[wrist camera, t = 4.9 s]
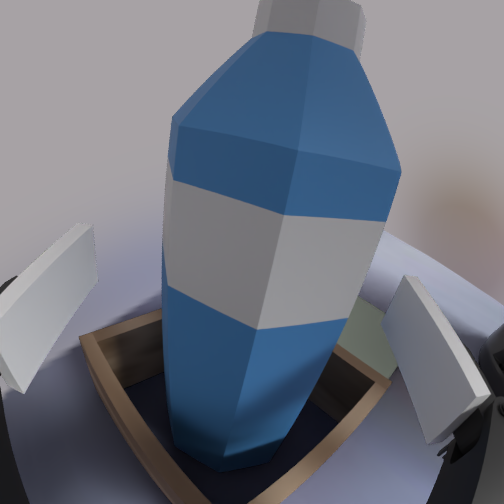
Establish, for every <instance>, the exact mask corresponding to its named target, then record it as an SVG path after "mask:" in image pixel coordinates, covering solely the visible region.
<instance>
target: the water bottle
mask: <svg viewBox="0 0 504 504" xmlns="http://www.w3.org/2000/svg"><path fill="white" fill-rule="evenodd" d="M365 26H366V19H365V16H364V13H363V10H362V7H361V5H359V4H357V3H355V2H353V1H351V0H260V1H259V6H258V10H257V15H256V20H255V25H254V30H253V35H252V38H251V39H250V40H249V41H248V42H247V43H246V44H245V45H243V46H242V47H241V48H240V49H239V50H238V51H237V52H236V53H235V54H233V55H232V56H231V57H230V58H229V59H228V60H227V61H226V62H225V63H224V64H223V65H222V66H221V67H220V68H218V70H216V71H215V72H214V73H213V74H212V75H211V76H210V77H209V78H208V79H207V80H206V81H205V82H204V83H203V84H202V85H201V86H200V87H199V88H198V90H197V91H196V92H195V93H194V94H193V95H192V96H191V97H190V98H189V99H188V100H187V101H186V102H185V103H184V105H182V107H181V108H180V109H179V110H178V111H177V112H176V113H175V114H174V115H173V117H172V123H171V132H170V140H169V150H168V160H167V171H166V184H165V199H164V216H163V239H162V240H163V241H162V333H163V356H164V373H165V387H166V399H167V408H168V414H169V420H170V425H171V430H172V435H173V440H174V445H175V447H177V448H178V449H180V450H182V451H183V452H185V453H186V454H188V455H190V456H191V457H193V458H195V459H196V460H198V461H200V462H201V463H203V464H205V465H207V466H208V467H210V468H212V469H214V470H215V471H217V472H225V471H231V470H236V469H241V468H246V467H251V466H255V465H260V464H264V463H268V462H270V460H271V459H272V457H273V455H274V454H275V452H276V451H277V449H278V448H279V446H280V445H281V443H282V441H283V440H284V438H285V437H286V435H287V433H288V432H289V430H290V428H291V427H292V425H293V423H294V422H295V420H296V418H297V417H298V415H299V413H300V411H301V410H302V408H303V406H304V404H305V403H306V401H307V399H308V397H309V395H310V394H311V392H312V390H313V388H314V386H315V384H316V383H317V381H318V379H319V377H320V375H321V373H322V371H323V369H324V367H325V365H326V363H327V361H328V359H329V357H330V355H331V353H332V351H333V349H334V347H335V345H336V343H337V341H338V339H339V337H340V335H341V333H342V330H343V328H344V326H345V324H346V322H347V320H348V317H349V315H350V313H351V311H352V308H353V306H354V304H355V301H356V299H357V297H358V294H359V292H360V290H361V287H362V285H363V282H364V280H365V277H366V275H367V272H368V270H369V267H370V265H371V262H372V259H373V257H374V254H375V252H376V249H377V246H378V243H379V241H380V238H381V235H382V232H383V229H384V226H385V223H386V221H387V217H388V215H389V212H390V208H391V205H392V202H393V199H394V196H395V193H396V189H397V186H398V183H399V179H400V176H401V167H400V162H399V159H398V156H397V153H396V150H395V147H394V144H393V141H392V138H391V135H390V133H389V130H388V127H387V125H386V122H385V119H384V117H383V114H382V112H381V109H380V107H379V104H378V102H377V99H376V97H375V95H374V92H373V90H372V88H371V85H370V83H369V81H368V79H367V77H366V74H365V72H364V70H363V68H362V66H361V64H360V56H361V50H362V44H363V38H364V32H365Z"/></svg>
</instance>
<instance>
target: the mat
mask: <svg viewBox="0 0 504 504" xmlns="http://www.w3.org/2000/svg"><path fill="white" fill-rule="evenodd" d="M385 314H386V313H384V312H383V311H381V310H379V309H378V308H376V307H375V306H373V305H371V304H370V303H368V302H367V301H365V300H363V299H362V298H360V297H359V296H358V297H357V299H356V301H355V304H354V306H353V308H352V311H351V313H350V315H349V317H348V320H347V322H346V324H345V326H344V328H343V330H342V333H341V335H340V337H339V339H338V341H337V344H339V345H340V346H341V347H343V348H344V349H346V350H347V351H349V352H350V353H351V354H353V355H354V356H356V357H357V358H358V359H360V360H361V361H363V362H364V363H366V364H367V365H368V366H370V367H371V368H373V369H374V370H376V371H377V372H379V373H380V374H381V375H383V376H384V377H386V378H387V379H389V377H390V376H391V375H392V373H393V372H394V371H395V369H396V368H397V366H398V364H397V361H396V359H395V357H394V354H393V352H392V349H391V347H390V345H389V342H388V340H387V338H386V335H385V333H384V331H383V328H382V326H381V324H380V323H381V322H382V320H383V318H384V316H385Z"/></svg>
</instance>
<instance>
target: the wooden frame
mask: <svg viewBox="0 0 504 504" xmlns="http://www.w3.org/2000/svg"><path fill="white" fill-rule="evenodd" d="M79 340H80V343H81V346H82V350H83V353H84V356H85V359H86V362H87V365H88V368H89V371H90V374H91V377H92V380H93V383H94V385H95V388H96V390H97V392H98V394H99V396H100V398H101V400H102V401H103V403H104V405H105V407H106V409H107V410H108V412H109V414H110V416H111V417H112V419H113V421H114V422H115V424H116V426H117V427H118V429H119V431H120V432H121V434H122V436H123V437H124V439H125V440H126V442H127V443H128V445H129V446H130V448H131V449H132V451H133V452H134V454H135V455H136V457H137V458H138V460H139V461H140V463H141V464H142V465H143V467H144V468H145V470H146V471H147V472H148V474H149V475H150V476H151V478H152V479H153V480H154V482H155V483H156V484H157V485H158V487H159V488H160V489H161V490H162V492H163V493H164V494H165V495H166V497H167V498H168V499H169V500H170V501H171V503H172V504H212V503H211V502H210V501H209V500H208V499H207V498H206V497H205V496H204V495H203V494H202V493H201V492H200V491H199V489H198V488H197V487H196V486H195V485H194V484H193V483H192V482H191V481H190V479H189V478H188V477H187V476H186V475H185V474H184V472H183V471H182V470H181V469H180V468H179V466H178V465H177V464H176V463H175V462H174V460H173V459H172V458H171V457H170V455H169V454H168V453H167V451H166V450H165V449H164V448H163V446H162V445H161V444H160V442H159V441H158V440H157V438H156V437H155V436H154V434H153V433H152V431H151V430H150V429H149V427H148V426H147V424H146V423H145V422H144V420H143V419H142V417H141V416H140V414H139V413H138V411H137V410H136V408H135V407H134V405H133V404H132V402H131V401H130V399H129V397H128V396H127V394H126V393H125V391H124V388H126V387H129V386H131V385H134V384H136V383H138V382H141V381H143V380H145V379H148V378H150V377H152V376H155V375H157V374H159V373H162V372H164V356H163V333H162V308H161V309H159V310H156V311H153V312H150V313H147V314H144V315H141V316H138V317H135V318H132V319H130V320H127V321H124V322H121V323H118V324H115V325H112V326H109V327H106V328H103V329H100V330H97V331H94V332H91V333H88V334H85V335H82V336H79ZM391 383H392V381H390V380H389V379H387V378H386V377H384V376H383V375H381V374H380V373H379V372H377V371H376V370H374V369H373V368H371V367H370V366H368V365H367V364H366V363H364V362H363V361H361V360H360V359H358V358H357V357H356V356H354V355H353V354H351V353H350V352H349V351H347V350H346V349H344V348H343V347H341V346H340V345H339V344H337V343H336V345H335V347H334V349H333V351H332V353H331V355H330V357H329V359H328V361H327V363H326V365H325V367H324V369H323V371H322V373H321V375H320V377H319V379H318V381H317V383H316V384H315V386H314V388H313V390H312V392H311V394H310V395H309V397H308V399H309V400H310V401H311V402H313V403H314V404H315V405H316V406H318V407H319V408H320V409H322V410H323V411H324V412H325V413H327V414H328V415H329V416H331V417H332V418H333V419H334V420H336V421H337V422H338V423H339V424H338V425H337V426H336V427H335V428H334V429H333V430H332V431H331V432H330V433H329V434H328V435H327V436H326V437H325V438H324V439H323V440H322V441H321V442H320V443H319V444H318V445H317V446H316V447H315V448H314V449H313V450H312V451H311V452H309V453H308V454H307V455H306V456H305V457H304V458H303V459H302V460H301V461H300V462H298V463H297V464H296V465H295V466H294V467H293V468H292V469H290V470H289V471H288V472H287V473H286V474H285V475H283V476H282V477H281V478H280V479H279V480H277V481H276V482H275V483H274V484H272V485H271V486H270V487H269V488H267V489H266V490H265V491H263V492H262V493H261V494H260V495H258V496H257V497H256V498H254V499H253V500H251V501H250V502H249V503H247V504H280V503H281V502H282V501H283V500H284V499H286V498H287V497H288V496H289V495H290V494H291V493H293V492H294V491H295V490H296V489H297V488H298V487H299V486H300V485H301V484H303V483H304V482H305V481H306V480H307V479H308V478H309V477H310V476H311V475H312V474H313V473H314V472H315V471H316V470H317V469H318V468H319V467H320V466H321V465H322V464H323V463H324V462H325V461H326V460H327V459H328V458H329V457H330V456H331V455H332V454H333V453H334V452H335V451H336V450H337V449H338V448H339V447H340V446H341V445H342V444H343V442H344V441H345V440H346V439H347V438H348V437H349V436H350V435H351V434H352V432H353V431H354V430H355V429H356V428H357V427H358V425H359V424H360V423H361V422H362V421H363V419H364V418H365V417H366V416H367V415H368V413H369V412H370V411H371V410H372V408H373V407H374V406H375V405H376V403H377V402H378V401H379V399H380V398H381V397H382V395H383V394H384V393H385V391H386V390H387V389H388V387H389V386H390V385H391Z"/></svg>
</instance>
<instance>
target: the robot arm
mask: <svg viewBox="0 0 504 504" xmlns="http://www.w3.org/2000/svg"><path fill="white" fill-rule="evenodd" d="M98 281H99V280H98V273H97V264H96V255H95V244H94V231H93V225H90V224H83V223H77V224H76V225H75V226H74V227H72V228H71V229H70V230H69V231H68V232H66V234H64V235H63V236H62V237H61V238H59V239H58V240H57V241H56V242H55V243H54V244H52V245H51V246H50V247H49V248H48V249H47V250H46V251H45V252H44V253H42V254H41V255H40V256H39V257H38V258H37V259H36V260H35V261H34V262H33V263H32V264H30V266H28V267H27V268H26V269H25V270H24V271H23V272H22V273H21V274H20V275H19V276H15V277H13V278H12V279H10V280H8V281H7V282H5V283H4V284H3V285H2V286H1V287H0V376H1V375H2V377H3V378H4V380H5V382H6V383H7V385H8V386H9V387H11V388H13V389H15V390H17V391H19V392H21V393H23V394H25V392H26V390H27V388H28V387H29V385H30V383H31V381H32V380H33V378H34V376H35V375H36V373H37V371H38V369H39V368H40V366H41V365H42V363H43V361H44V360H45V358H46V356H47V355H48V353H49V352H50V350H51V349H52V347H53V345H54V344H55V342H56V341H57V339H58V338H59V336H60V335H61V333H62V332H63V330H64V329H65V327H66V326H67V324H68V323H69V321H70V320H71V318H72V317H73V315H74V314H75V313H76V311H77V310H78V308H79V307H80V306H81V304H82V303H83V301H84V300H85V299H86V297H87V296H88V295H89V293H90V292H91V290H92V289H93V288H94V286H95V285H96V284H97V282H98ZM380 324H381V326H382V328H383V331H384V333H385V335H386V338H387V340H388V342H389V345H390V347H391V349H392V352H393V354H394V357H395V359H396V361H397V364H398V366H399V369H400V371H401V374H402V376H403V379H404V382H405V384H406V387H407V389H408V392H409V395H410V397H411V400H412V403H413V406H414V408H415V411H416V414H417V417H418V420H419V423H420V426H421V429H422V432H423V435H424V438H425V441H426V444H427V445H430V444H435V443H439V442H443V441H444V440H445V439H446V438H447V437H448V436H449V435H451V434H452V433H453V434H454V437H455V439H453V440H452V441H451V442H450V443H449V444H448V445H446V446H445V447H444V448H443V449H441V450H440V451H439V453H438V454H437V456H440V455H441V454H443V453H444V452H445V451H447V453H446V455H444V456H443V457H442V458H443V459H444V462H443V464H442V467H441V470H440V472H439V475H438V477H437V480H436V482H435V485H434V487H433V490H432V492H431V494H430V496H429V499H428V501H427V503H426V504H504V324H503V325H502V326H500V327H499V328H498V329H497V330H496V331H495V332H493V333H492V334H491V335H490V336H489V338H488V339H487V341H486V342H485V344H484V345H483V347H482V348H481V350H480V354H479V362H480V367H481V369H479V368H480V367H479V365H478V363H477V362H475V358H474V357H473V355H472V353H471V352H470V350H469V349H468V348H467V347H466V346H465V345H464V344H463V343H462V342H461V340H460V339H459V337H458V336H457V334H456V333H455V331H454V329H453V328H452V326H451V325H450V323H449V322H448V320H447V319H446V317H445V316H444V314H443V313H442V311H441V310H440V308H439V307H438V305H437V304H436V302H435V301H434V299H433V298H432V297H431V295H430V294H429V292H428V291H427V290H426V288H425V287H424V285H423V284H422V283H421V281H420V280H419V279H418V277H414V276H408V275H404V276H403V278H402V280H401V282H400V285H399V287H398V289H397V291H396V293H395V295H394V297H393V299H392V302H391V304H390V306H389V308H388V310H387V312H386V314H385V316H384V318H383V320H382V322H381V323H380ZM496 397H497V398H496ZM0 504H30V503H29V501H28V498H27V495H26V493H25V490H24V487H23V484H22V481H21V478H20V475H19V472H18V469H17V465H16V462H15V458H14V455H13V451H12V447H11V443H10V439H9V434H8V430H7V425H6V420H5V414H4V408H3V402H2V395H1V388H0Z"/></svg>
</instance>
